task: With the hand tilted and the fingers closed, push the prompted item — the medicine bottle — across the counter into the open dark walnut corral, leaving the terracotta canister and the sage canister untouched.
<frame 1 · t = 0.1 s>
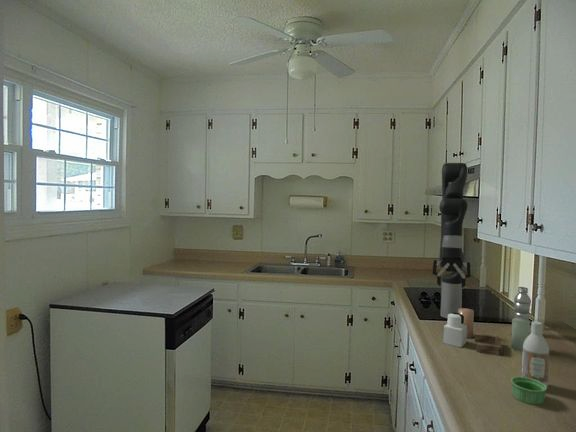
hand: (450, 286, 160), 22 cm above the countertop, tool pointing down, fingers open, 8 cm apart
terracotta canister: (465, 335, 168), on the countertop
medicine bottle: (454, 343, 159), on the countertop
sage canister: (519, 348, 154), on the countertop
plastic bottle: (521, 333, 171), on the countertop
corral: (482, 346, 155), on the countertop
bath foam: (534, 386, 123), on the countertop
ramekin: (527, 398, 116), on the countertop
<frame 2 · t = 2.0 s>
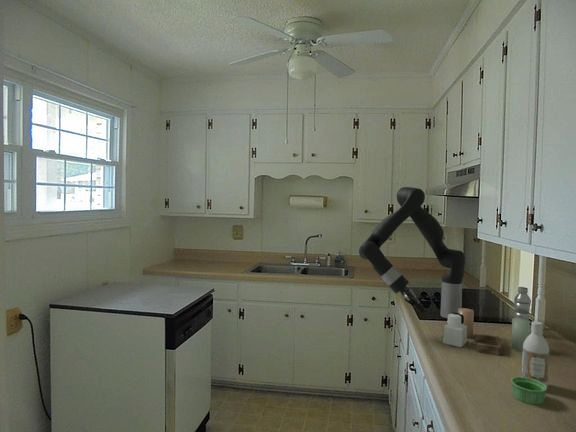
hand: (424, 311, 163), 11 cm above the countertop, tool tilted 45°, fingers closed
nothing on the countertop moved.
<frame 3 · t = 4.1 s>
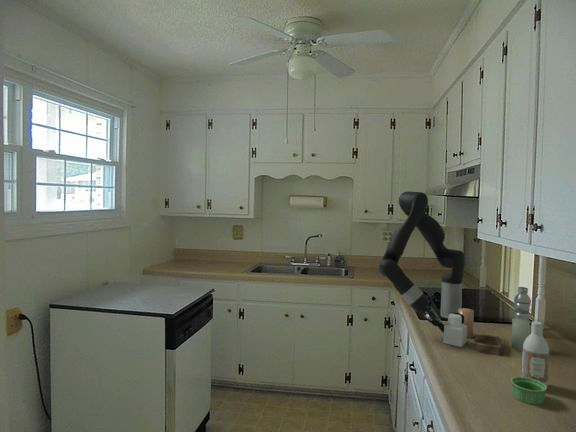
hand: (446, 331, 160), 4 cm above the countertop, tool tilted 45°, fingers closed
medicine bottle: (454, 343, 159), on the countertop, touching gripper
everything else where it was.
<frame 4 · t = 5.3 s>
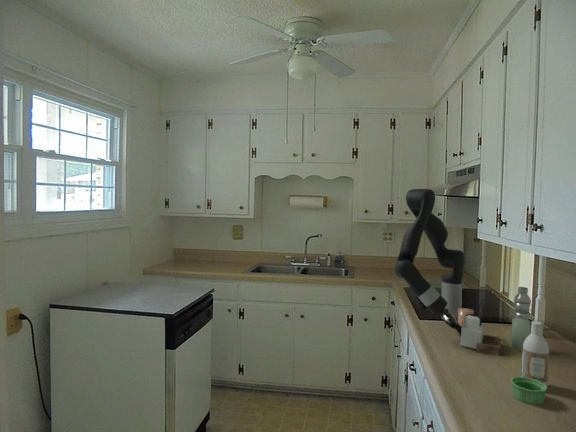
hand: (463, 333, 157), 4 cm above the countertop, tool tilted 45°, fingers closed
medicine bottle: (470, 345, 156), on the countertop, touching gripper
everything else where it was.
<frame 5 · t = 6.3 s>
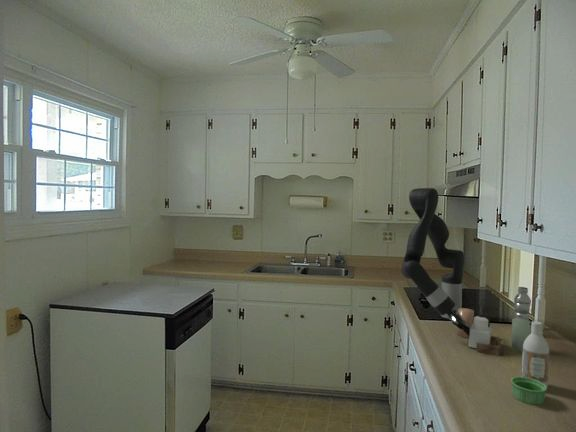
hand: (471, 334, 156), 4 cm above the countertop, tool tilted 45°, fingers closed
medicine bottle: (478, 346, 155), on the countertop, touching gripper
everything else where it was.
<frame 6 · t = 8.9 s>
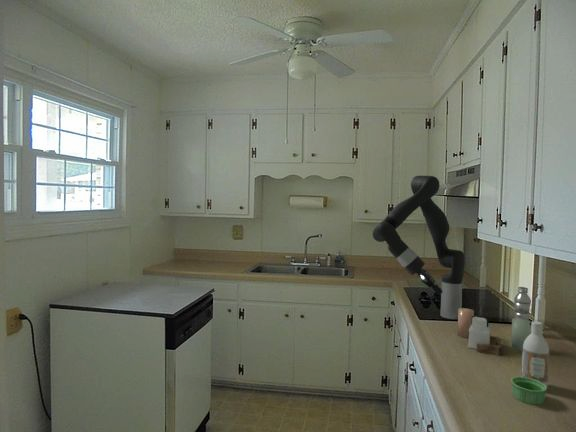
hand: (440, 293, 160), 20 cm above the countertop, tool tilted 45°, fingers closed
medicine bottle: (478, 347, 155), on the countertop
everything else where it was.
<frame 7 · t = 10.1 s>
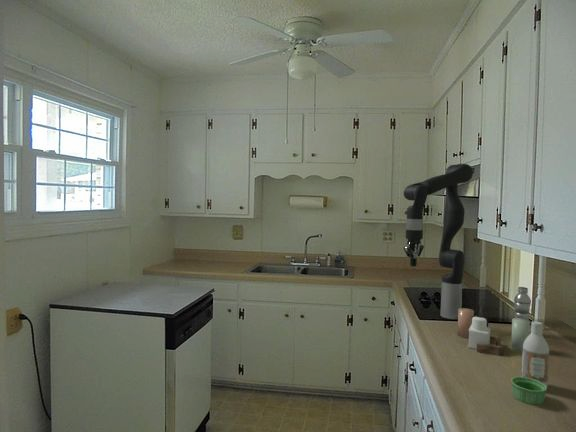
hand: (413, 266, 181), 27 cm above the countertop, tool pointing down, fingers closed
nothing on the countertop moved.
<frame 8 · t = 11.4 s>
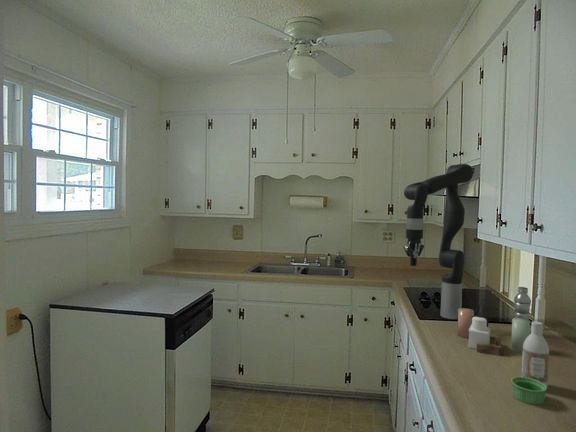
hand: (413, 265, 181), 27 cm above the countertop, tool pointing down, fingers closed
nothing on the countertop moved.
at the end: medicine bottle 1.3 cm from the corral (horizontally); medicine bottle tilted 0°; terracotta canister moved 0.0 cm from its start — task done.
